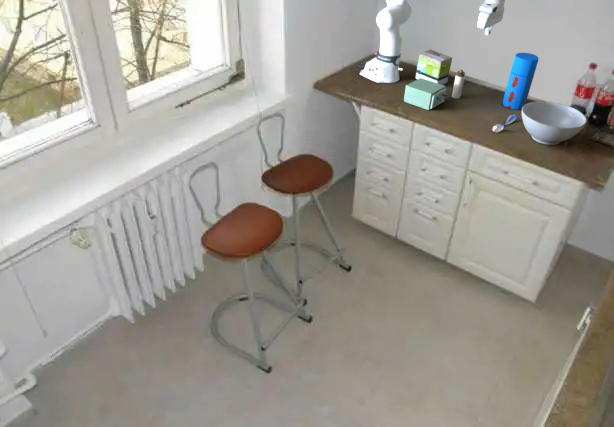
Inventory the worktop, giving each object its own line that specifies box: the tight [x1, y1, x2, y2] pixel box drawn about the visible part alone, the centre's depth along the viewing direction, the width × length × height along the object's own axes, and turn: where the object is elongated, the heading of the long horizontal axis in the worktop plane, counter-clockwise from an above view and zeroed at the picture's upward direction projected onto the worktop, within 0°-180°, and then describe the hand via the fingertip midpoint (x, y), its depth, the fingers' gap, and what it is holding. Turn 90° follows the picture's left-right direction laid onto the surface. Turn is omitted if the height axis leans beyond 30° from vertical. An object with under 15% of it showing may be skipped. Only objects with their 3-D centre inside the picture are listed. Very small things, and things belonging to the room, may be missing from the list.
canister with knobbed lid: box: [451, 69, 466, 100], centre depth 266 cm, size 5×5×14 cm
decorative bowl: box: [521, 100, 588, 146], centre depth 232 cm, size 27×27×12 cm
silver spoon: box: [492, 114, 517, 134], centre depth 244 cm, size 20×4×5 cm
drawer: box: [430, 87, 452, 110], centre depth 260 cm, size 18×12×7 cm
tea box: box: [415, 49, 453, 85], centre depth 282 cm, size 15×10×15 cm, turn 41°
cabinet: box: [403, 78, 446, 111], centre depth 262 cm, size 15×14×9 cm
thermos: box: [502, 52, 539, 110], centre depth 257 cm, size 11×11×25 cm
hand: (487, 34), depth 255 cm, fingers closed
